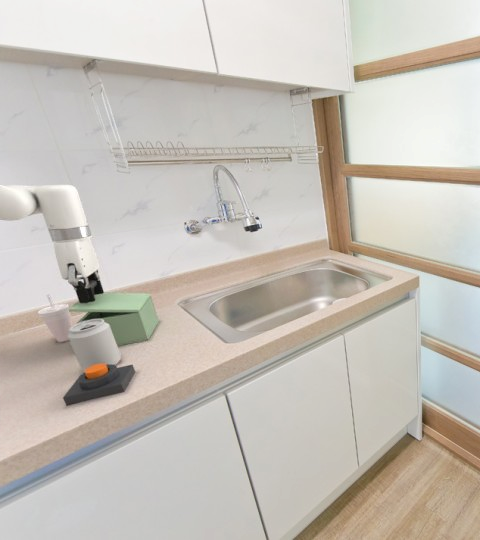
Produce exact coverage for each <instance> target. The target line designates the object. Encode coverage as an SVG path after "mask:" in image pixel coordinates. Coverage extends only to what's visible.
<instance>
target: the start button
mask: <svg viewBox="0 0 480 540" xmlns="http://www.w3.org/2000/svg"><path fill="white" fill-rule="evenodd" d="M84 373H85V374H86V377H87V379H94V378H98V377H100V376H103V375H105V374H106V373H108V368H107V366H106V364H105V363H100V364H96V365H93V366H91V367H89V368H87V369H86V370H85V372H84Z"/></svg>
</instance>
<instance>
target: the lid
mask: <svg viewBox="0 0 480 540" xmlns="http://www.w3.org/2000/svg"><path fill="white" fill-rule="evenodd" d="M88 282H89V287H92V290H93V294H94V287H95V286H96V285H97V282H96V281H94V280H90V281H88ZM150 296H151V297H152V293H144V292H140V293H139V292H115V291H114V292H110V291H107V292H106V291H104V293H103V294H98V295H94V297H95V301H94V302H87V303H80V302H79V300H78V301H77V302H75V303H74V304H73V305H71V307H70V308H69V312H70V313H73V312H74V313H88V312H139V311H140V310H141V308H142V307H143V306H144V304H145V303H146V302H147V300H148V299H149V297H150Z"/></svg>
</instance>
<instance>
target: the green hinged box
mask: <svg viewBox="0 0 480 540" xmlns="http://www.w3.org/2000/svg"><path fill="white" fill-rule="evenodd" d="M153 301H154V300H153V297H152V295H151V296H150V297H149V299H148V300H147V302H146V303H145V304H144V306H143V307H142V308H141V310H140V311H139V312H86V314H84V316H82V317H81V318H80V319H79V320H78V321H77V322H76V323H75V324H78V323H80V322H83V321H87V320H91V319H103V320H104V322H105V323H108V324H109V325H110V328H111V331H112V333H113V336H114V339H115V341H116V344H117V347H119V346H125V345H130V344H134V343H140V342H145V341H149V340H150V338H151V336H152V334H153V333H154V331H155V329H156V327H157V325H158V324H159V321H160V320H159V316H158V313H157V311H156V307H155V304H154V302H153Z"/></svg>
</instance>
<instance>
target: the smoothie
mask: <svg viewBox="0 0 480 540" xmlns="http://www.w3.org/2000/svg"><path fill="white" fill-rule="evenodd" d="M46 297H47V299H48V302H49V304H50V306H47V307H44V308H41V309H40V310H38V311H37V315H38V317H40V318H41V319H42V321H43V322H44V324H45V325H46V327H47V329H48V330H49V331H50V332H51V335H53V337H54V338H55V340H56V341H57V342H58V343H62V342H66V341H69V338H68V334H69V333H70V331H69V329H70V328H71V327H72V326H73V322H72V316H71V312H69V308H71V307H70V305H69V304H68V303H61V304H55V305H54V301H53V300H52V297H51V294H46Z"/></svg>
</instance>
